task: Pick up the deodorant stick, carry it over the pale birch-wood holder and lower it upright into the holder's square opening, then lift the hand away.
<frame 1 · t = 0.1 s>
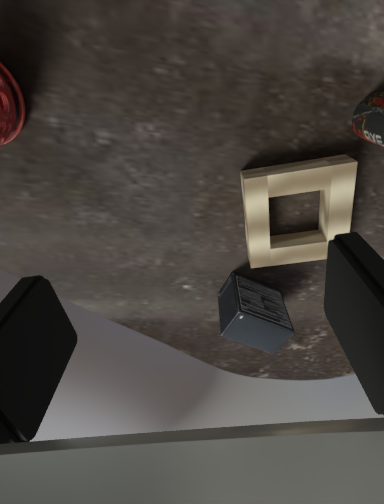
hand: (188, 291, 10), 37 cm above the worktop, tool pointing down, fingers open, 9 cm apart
deodorant: (374, 116, 41), on the worktop
small box: (248, 292, 57), on the worktop
holder: (291, 209, 48), on the worktop
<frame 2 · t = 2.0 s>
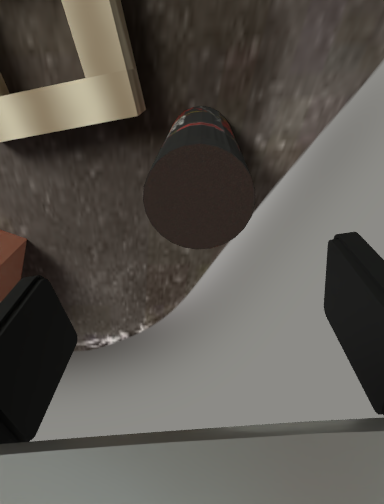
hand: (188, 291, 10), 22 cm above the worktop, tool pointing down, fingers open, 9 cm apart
deodorant: (200, 140, 29), on the worktop
holder: (33, 26, 24), on the worktop
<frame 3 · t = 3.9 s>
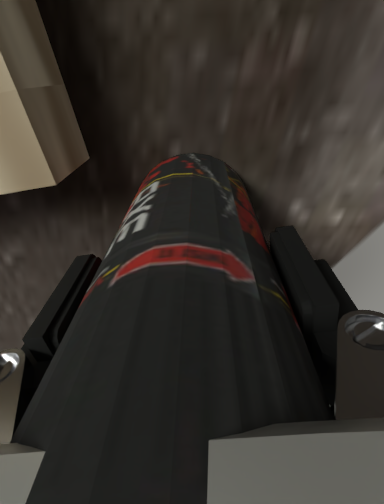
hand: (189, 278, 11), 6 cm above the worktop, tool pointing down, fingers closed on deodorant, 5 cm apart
deodorant: (192, 208, 16), on the worktop, touching gripper
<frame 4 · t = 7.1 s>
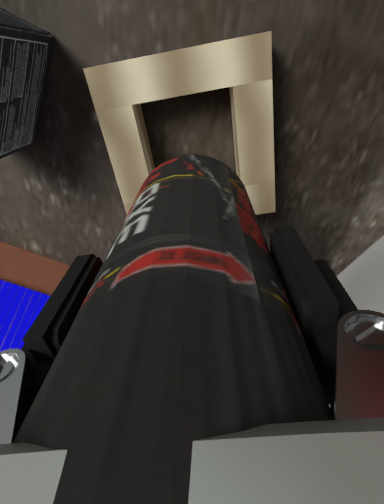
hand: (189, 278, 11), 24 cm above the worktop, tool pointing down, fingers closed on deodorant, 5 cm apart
deodorant: (193, 209, 16), point 17 cm above the worktop, touching gripper
small box: (11, 79, 29), on the worktop
holder: (191, 139, 31), on the worktop
house: (65, 295, 42), on the worktop
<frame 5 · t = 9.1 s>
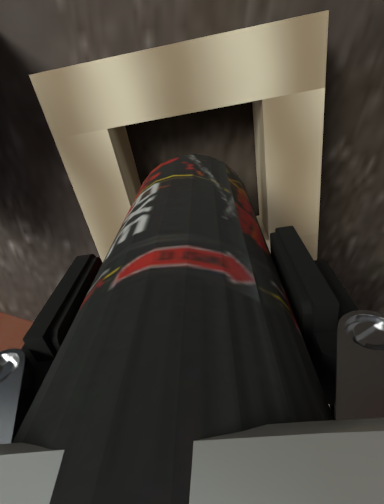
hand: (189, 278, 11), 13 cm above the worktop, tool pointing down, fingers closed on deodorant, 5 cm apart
deodorant: (193, 209, 16), point 7 cm above the worktop, touching gripper
holder: (196, 170, 22), on the worktop
house: (38, 356, 34), on the worktop
when the fingers open (7 cm above the worktop, at t = 10.7 s): deodorant drops 1 cm, resting in holder.
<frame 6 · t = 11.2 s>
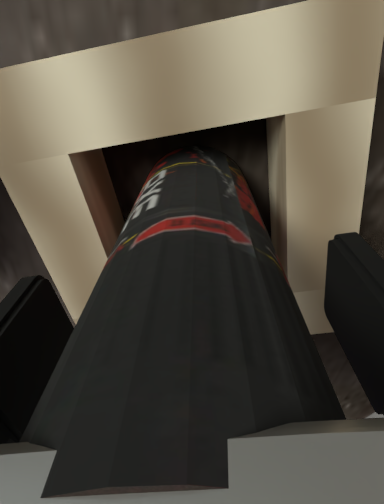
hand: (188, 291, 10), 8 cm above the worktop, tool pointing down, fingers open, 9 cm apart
deodorant: (195, 197, 17), resting in holder
holder: (193, 200, 17), on the worktop
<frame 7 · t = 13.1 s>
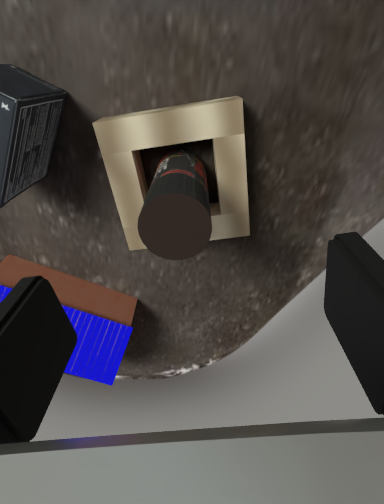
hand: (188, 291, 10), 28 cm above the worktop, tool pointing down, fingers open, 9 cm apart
deodorant: (181, 173, 37), resting in holder
small box: (29, 124, 34), on the worktop
holder: (180, 174, 37), on the worktop
house: (68, 302, 48), on the worktop
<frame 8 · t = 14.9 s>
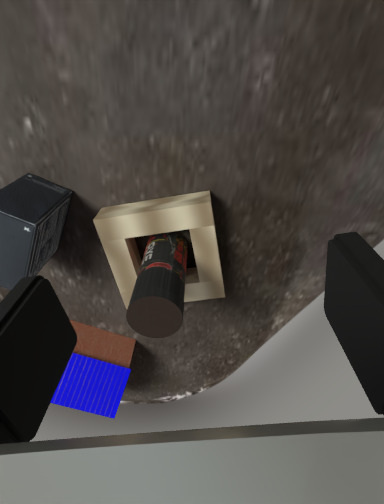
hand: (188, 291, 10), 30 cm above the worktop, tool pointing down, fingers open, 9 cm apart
deodorant: (167, 245, 45), resting in holder
small box: (43, 213, 42), on the worktop
holder: (166, 246, 44), on the worktop
house: (77, 342, 56), on the worktop
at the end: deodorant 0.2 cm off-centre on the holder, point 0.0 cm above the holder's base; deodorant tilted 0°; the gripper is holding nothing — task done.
